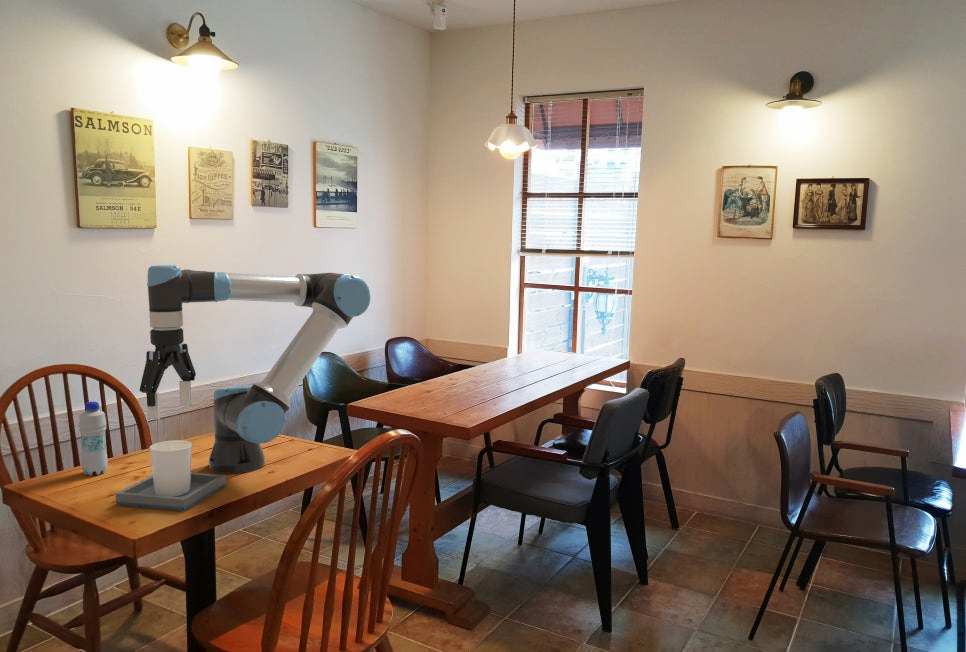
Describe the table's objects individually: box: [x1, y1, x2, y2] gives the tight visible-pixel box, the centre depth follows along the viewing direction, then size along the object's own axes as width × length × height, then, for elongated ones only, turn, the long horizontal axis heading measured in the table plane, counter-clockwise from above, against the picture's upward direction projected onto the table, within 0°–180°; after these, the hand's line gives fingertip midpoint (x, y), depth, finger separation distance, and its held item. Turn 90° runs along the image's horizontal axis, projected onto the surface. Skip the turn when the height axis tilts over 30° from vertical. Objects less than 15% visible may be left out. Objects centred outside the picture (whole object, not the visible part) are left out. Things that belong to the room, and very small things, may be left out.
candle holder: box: [149, 439, 193, 497], centre depth 183 cm, size 10×10×12 cm
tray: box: [115, 472, 227, 513], centre depth 184 cm, size 18×18×3 cm
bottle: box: [78, 400, 108, 476], centre depth 199 cm, size 7×7×20 cm
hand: (170, 412), depth 182 cm, fingers open, 13 cm apart
